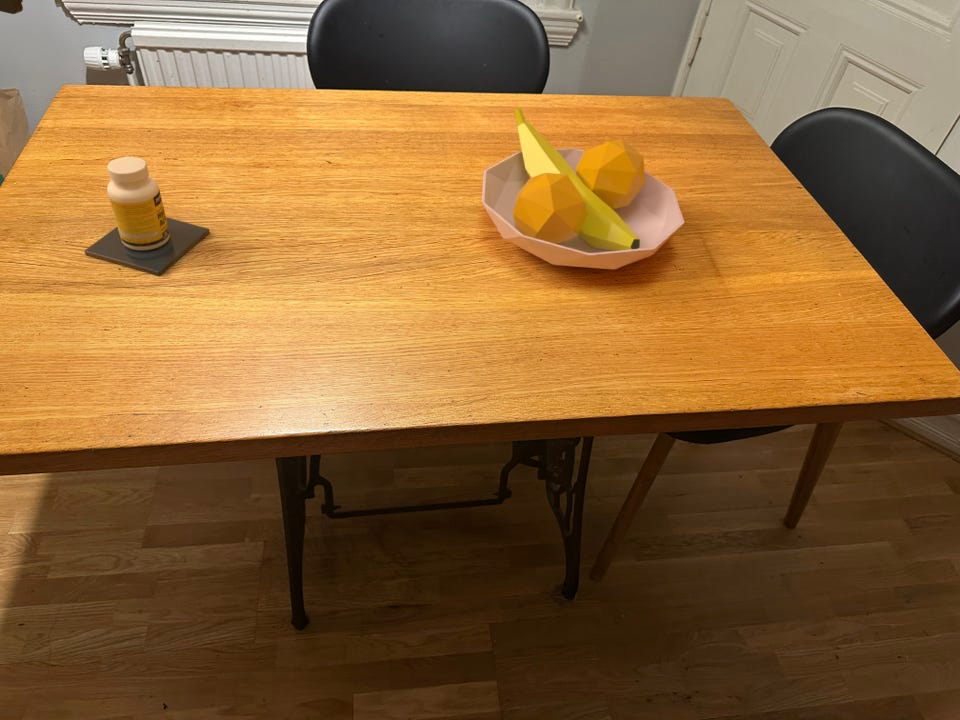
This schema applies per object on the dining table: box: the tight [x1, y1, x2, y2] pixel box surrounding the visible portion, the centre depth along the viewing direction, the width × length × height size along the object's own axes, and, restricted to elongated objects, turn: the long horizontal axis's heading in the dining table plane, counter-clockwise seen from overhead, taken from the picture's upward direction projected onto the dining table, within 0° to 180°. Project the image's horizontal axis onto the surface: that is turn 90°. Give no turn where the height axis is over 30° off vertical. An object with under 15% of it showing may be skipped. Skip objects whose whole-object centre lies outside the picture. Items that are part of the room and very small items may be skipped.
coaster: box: [83, 216, 211, 277], centre depth 84 cm, size 10×10×1 cm
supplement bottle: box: [106, 156, 170, 250], centre depth 80 cm, size 5×5×10 cm
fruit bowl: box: [481, 108, 686, 270], centre depth 91 cm, size 28×27×11 cm
